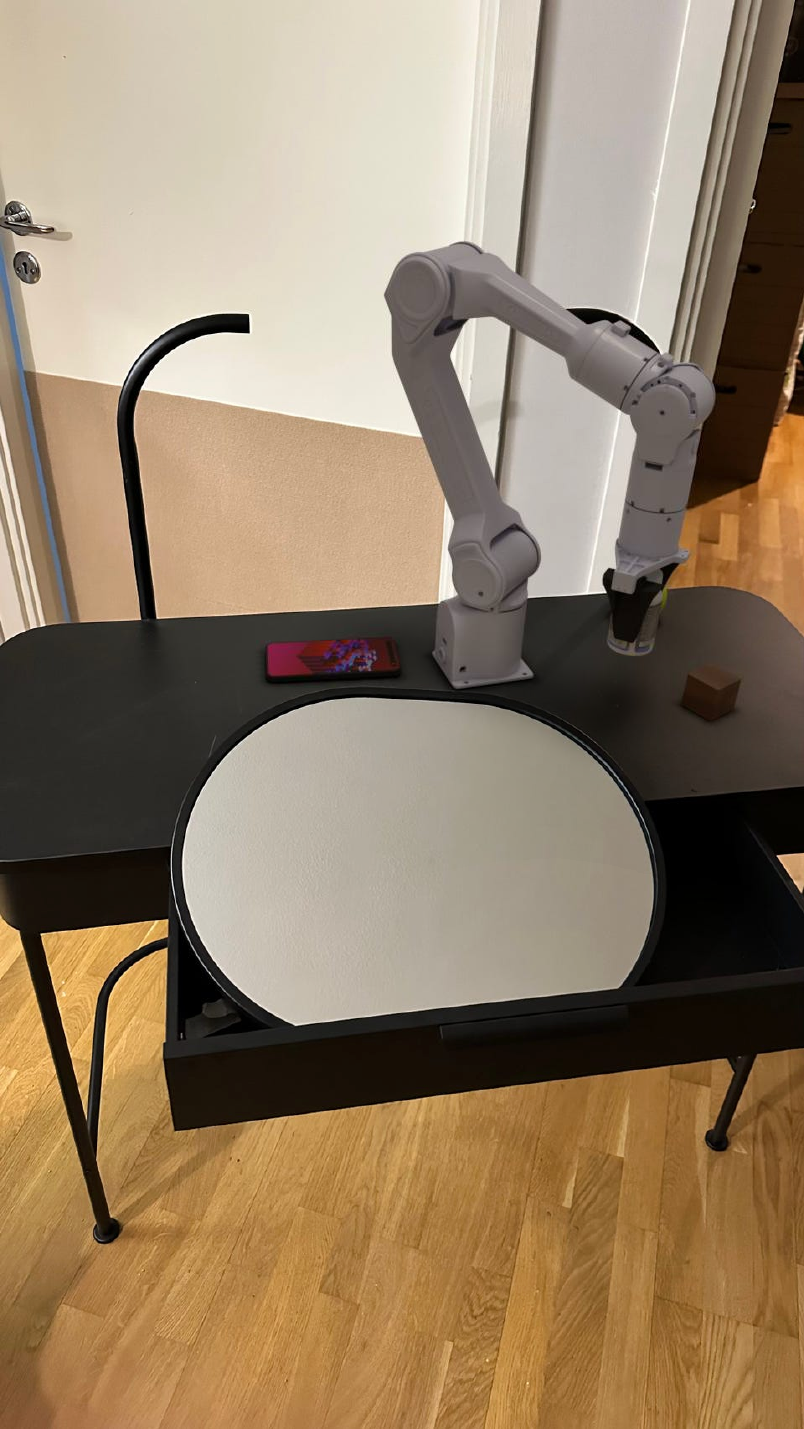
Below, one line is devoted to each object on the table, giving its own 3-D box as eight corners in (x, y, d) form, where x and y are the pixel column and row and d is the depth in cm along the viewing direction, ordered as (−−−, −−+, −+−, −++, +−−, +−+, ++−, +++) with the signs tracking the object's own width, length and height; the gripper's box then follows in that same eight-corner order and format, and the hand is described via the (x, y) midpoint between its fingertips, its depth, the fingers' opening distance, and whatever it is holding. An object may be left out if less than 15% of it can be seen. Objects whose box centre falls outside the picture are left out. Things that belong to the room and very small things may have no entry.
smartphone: (265, 642, 113) (394, 636, 115) (265, 648, 114) (394, 642, 116) (266, 677, 107) (402, 670, 109) (266, 684, 107) (402, 677, 109)
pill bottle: (650, 636, 103) (664, 562, 98) (655, 659, 99) (670, 583, 94) (604, 632, 103) (616, 559, 98) (607, 655, 99) (620, 580, 95)
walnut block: (710, 721, 104) (718, 690, 102) (680, 704, 107) (687, 673, 104) (733, 709, 106) (742, 678, 104) (704, 693, 109) (711, 662, 106)
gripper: (676, 538, 85) (650, 671, 93) (716, 486, 96) (689, 609, 104) (599, 520, 88) (579, 651, 96) (646, 472, 99) (625, 593, 106)
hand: (632, 628), depth 100 cm, fingers closed on pill bottle, 5 cm apart
